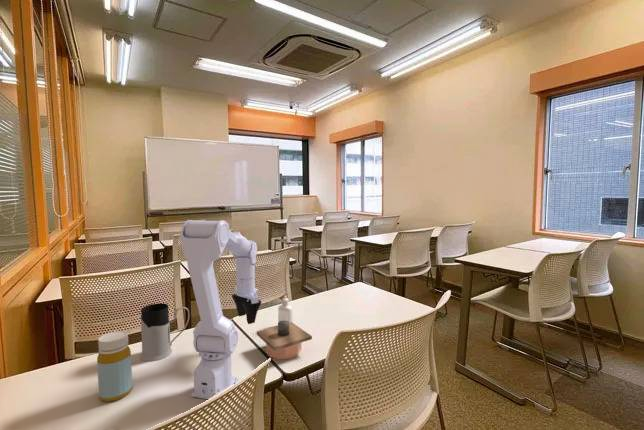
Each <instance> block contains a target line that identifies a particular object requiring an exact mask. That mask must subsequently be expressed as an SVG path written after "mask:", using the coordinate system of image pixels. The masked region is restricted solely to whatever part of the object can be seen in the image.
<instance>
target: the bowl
mask: <svg viewBox="0 0 644 430" xmlns="http://www.w3.org/2000/svg"><path fill="white" fill-rule="evenodd" d="M265 344H266V343H265ZM265 347H266V348H265V350H266V354H268V356H269V357H270V358H271V357H273V358H272V359H278V360H289V359H291V358H294V357H298V355H299V354H300V352H301V351H302V342H301V343H298V344H295V345H292V346H288V347H285V348H282V349H279V350H276V351H274V350H273V349H272V348H271V347H270V346H268V345H267V344H266V346H265Z"/></svg>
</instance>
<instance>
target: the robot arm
mask: <svg viewBox="0 0 644 430" xmlns="http://www.w3.org/2000/svg"><path fill="white" fill-rule="evenodd" d="M179 240H180V245H181V248H182V253H183V256H184V258H185V259H186V264H187V268H188V272H189V277H190V280H191V281H190V282H191V285H192V289H193V293H194V297H195V301H196V305H197V306H196V307H197V309H198V314H199V319H200V321H199V322H198V323H197V324H196V325H195V327H194V329H193V332H192V333H193V348H194V349H195V352H197V353H198V356H199V357H201V359H200V362H199V363H198V365H197V366H196V368H195V369H194V372H193V391H192V393H191V397H193V398H199V399H204V400H209V398H211V397H213V396H214V395H216V394H218V393H220V392H221V391H222V390H224V389H226V388H227V387H229V386H231V385H232V384H234V383H235V382H236V383H237V382H238V381H239V377H235V376H232V374H233V373H232V372H233V371H232V354H233V353H234V352H235V351H236V348H237V346H238V341H239V334H238V331H237V329H236V327H235V324H234V322H233V321H232V320H230V319H229V318H227V317H226V316H224V314H223V313H224V312H223V309H222V304H221V300H220V294H219V290H218V289H219V288H218V284H217V280H216V275H215V269H214V265H213V262H215V261H216V260H218V259H221V257H222V254H223V252H224V251H225V249H226V250H227V251H228V252H230V253H231V254H232V257H233V259H235V273H236V274H235V275H236V279H235V280H236V286H235V285H234V292H235V294H231V298H232V300H233V301H234V304H235V306H236V311H237V314H238V317H243V316H245V319H246V321H247V324H248V325H251V324H255V322H256V320H257V314H258V311H259V309H260V306H261V305H262V300H260V299H259V296H258V295H257V293H259V289H258V288H256V277H255V276H256V272H255V271H256V269H255V264H256V263H257V253H258V245H257V243H256V242H255V241H254V240H250V239H249V240H248V239H247V237H246V236H243V235H242V234H241V232H240V231H233V232H232V231H231V230H230V225H229V223H228V222H227V221H226V220H193V219H188V220H186V221H184V223H183V225H182V228H181V230H180V233H179ZM236 383H235V384H236ZM235 384H234V385H235Z"/></svg>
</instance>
